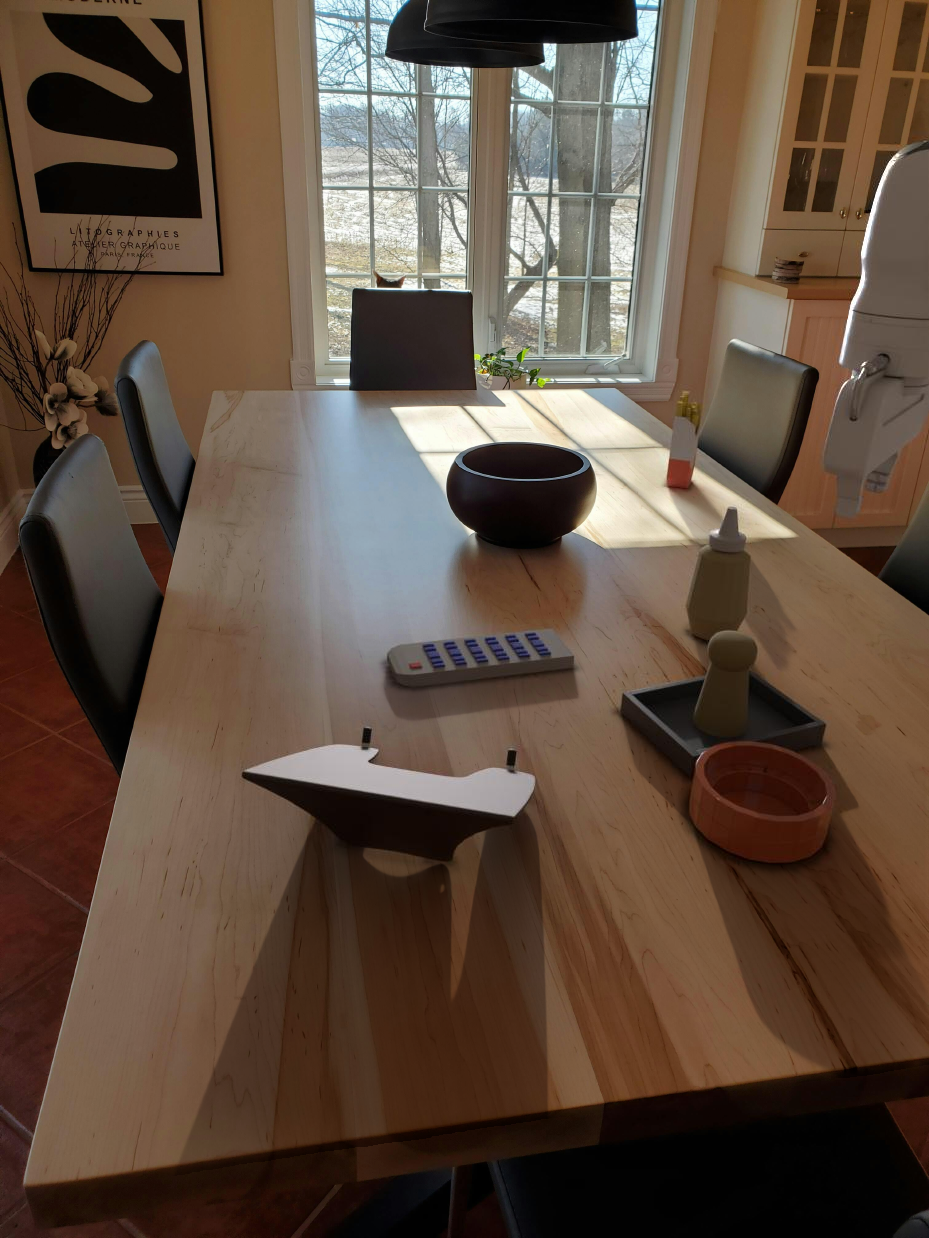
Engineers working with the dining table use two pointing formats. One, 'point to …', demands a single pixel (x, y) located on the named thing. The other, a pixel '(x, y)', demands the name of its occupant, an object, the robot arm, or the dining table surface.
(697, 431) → the french fries container
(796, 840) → the bowl
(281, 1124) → the dining table surface
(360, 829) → the laptop tray
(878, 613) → the dining table surface
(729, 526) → the squeeze bottle
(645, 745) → the dining table surface
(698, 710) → the olive green bottle
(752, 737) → the tray
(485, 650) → the remote control
